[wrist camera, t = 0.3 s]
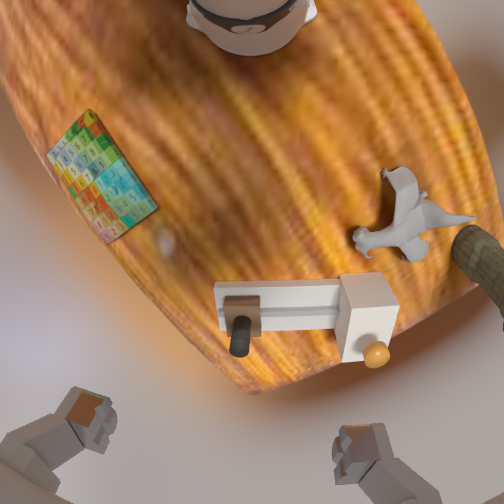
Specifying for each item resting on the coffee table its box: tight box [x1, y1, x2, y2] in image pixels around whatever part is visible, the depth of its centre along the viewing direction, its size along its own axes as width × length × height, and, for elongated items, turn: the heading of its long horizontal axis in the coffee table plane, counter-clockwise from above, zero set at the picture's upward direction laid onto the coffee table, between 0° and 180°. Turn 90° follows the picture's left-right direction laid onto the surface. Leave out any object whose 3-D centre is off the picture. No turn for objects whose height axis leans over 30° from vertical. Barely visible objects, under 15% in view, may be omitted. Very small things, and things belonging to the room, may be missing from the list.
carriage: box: [223, 296, 262, 358], centre depth 48 cm, size 7×6×10 cm
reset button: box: [362, 341, 390, 368], centre depth 41 cm, size 4×4×2 cm
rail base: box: [213, 272, 400, 362], centre depth 50 cm, size 13×30×10 cm, turn 93°
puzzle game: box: [47, 109, 158, 245], centre depth 43 cm, size 12×5×20 cm
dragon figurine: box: [352, 166, 476, 263], centre depth 42 cm, size 15×15×9 cm
